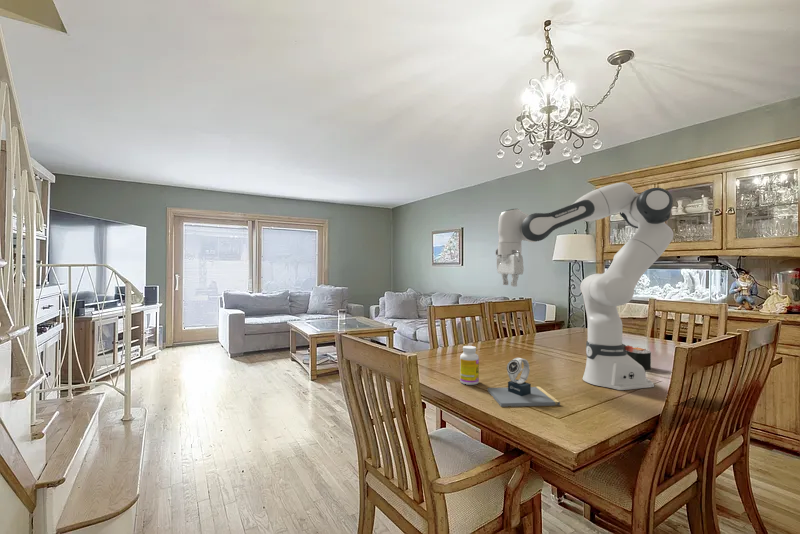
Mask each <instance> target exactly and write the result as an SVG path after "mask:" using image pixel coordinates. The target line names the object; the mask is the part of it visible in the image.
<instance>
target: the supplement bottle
mask: <svg viewBox="0 0 800 534" xmlns="http://www.w3.org/2000/svg"><path fill="white" fill-rule="evenodd" d="M462 351H463V352H462V353H461V354H460V356H459V381H460V383H461V384H463V385H465V384H466V386H475V385H477V384H479V380H480V379H479V377H480V375H479V374H480V373H479V372H480V367H479V365H480V362H479V361H480V360H479V359H480V357H479V355H478V354H477V353H476V352H477V347H476V346H474V345H473V346H472V345H463V346H462Z"/></svg>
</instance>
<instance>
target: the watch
mask: <svg viewBox="0 0 800 534" xmlns="http://www.w3.org/2000/svg"><path fill="white" fill-rule="evenodd" d="M522 364H523V366H522ZM522 367H523V368H522ZM530 370H531V369H530V363H529V361H528V360H527V359H526V358H521V357H515V358H513V359H511V360H510V361H509V362H507V365H506V371H507V375H508V378H509V380H508V381H507V388H508V391H509V392H512V393H514V394H517V395H520V396H524V395H528V394H531V387H532V386H531V384H532V383H530V382H526V381H527V380H528V378H529V374H530V372H531V371H530ZM520 373H521V375H520V376H519V377H520V378H519V379H516V378H517V377H518V375H519V374H520Z"/></svg>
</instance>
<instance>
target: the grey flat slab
mask: <svg viewBox="0 0 800 534" xmlns="http://www.w3.org/2000/svg"><path fill="white" fill-rule="evenodd" d="M487 392H488V394H490V395H491V397H492V396H493V397H492V398H493V399H494V401H496V403H498V405H499V406H500V407H502V408H503V407H504V408H505V407H508V406H511V407H546V406H553V407H555V406H561V402H560V401H559V400H558V399H557V398H555V397H554V396H553V395H552V394H550V393H549V392H547V391H546V390H545V389H543V388H542V387H541V386H531V394H528V395H524V396H520V395H517V394H514V393H512V392H509V391H508V387H487Z"/></svg>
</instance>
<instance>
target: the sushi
mask: <svg viewBox="0 0 800 534" xmlns="http://www.w3.org/2000/svg"><path fill="white" fill-rule="evenodd" d="M633 350H634V351H633V352H629V351H627V350H626V351H627V355H629V356H630V357H631V358H632V359H634V360H635V361H636V362H638V363H639V364H640V365H642V366H643V368H644V370H645V371H650V370H652V369H651V368H652V367H651V366H652V365H651V363H652V361H651V360H652V351H651V350H649V349H647V348H643V347H639V346H638V347H633Z"/></svg>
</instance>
